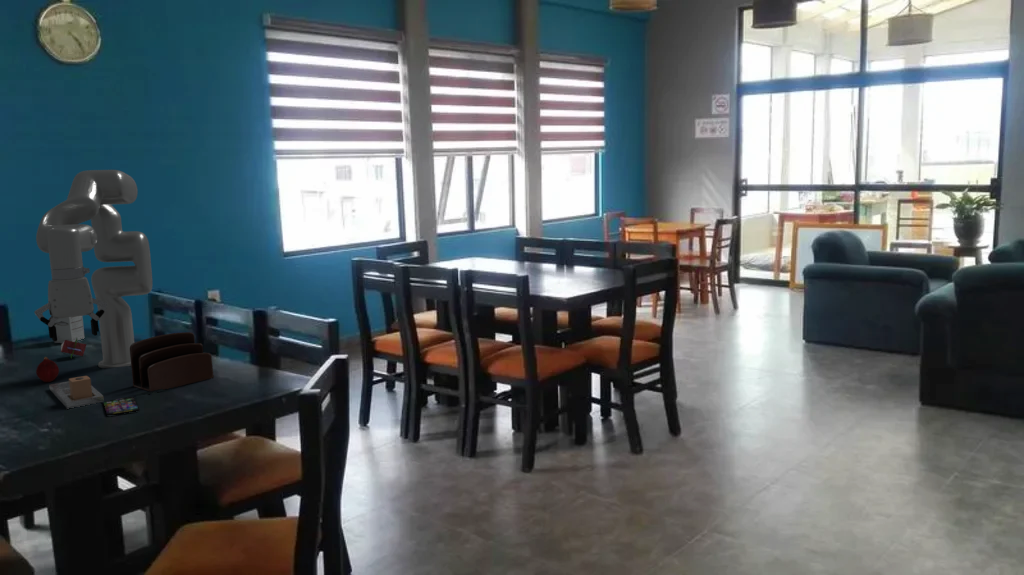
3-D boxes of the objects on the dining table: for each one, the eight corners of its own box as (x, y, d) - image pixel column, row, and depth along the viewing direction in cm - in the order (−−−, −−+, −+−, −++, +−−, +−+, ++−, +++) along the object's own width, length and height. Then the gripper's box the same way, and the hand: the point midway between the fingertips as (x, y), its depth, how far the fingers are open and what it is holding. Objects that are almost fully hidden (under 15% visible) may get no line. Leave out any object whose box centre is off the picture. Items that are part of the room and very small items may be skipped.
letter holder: (132, 388, 237) (127, 340, 235) (196, 373, 252) (192, 328, 250) (150, 394, 231) (145, 345, 228) (214, 378, 246) (210, 332, 244)
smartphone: (134, 396, 226) (140, 409, 214) (134, 399, 227) (140, 413, 214) (102, 400, 223) (106, 414, 210) (103, 404, 223) (106, 418, 210)
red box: (90, 347, 283) (73, 330, 279) (92, 350, 277) (74, 333, 273) (73, 361, 280) (55, 345, 277) (74, 365, 275) (56, 349, 271)
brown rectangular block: (89, 396, 226) (87, 375, 225) (92, 400, 223) (90, 378, 222) (71, 400, 224) (68, 378, 223) (74, 403, 220) (71, 381, 219)
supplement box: (53, 343, 300) (49, 309, 298) (67, 339, 307) (64, 305, 305) (72, 343, 299) (68, 309, 297) (85, 339, 306) (82, 305, 304)
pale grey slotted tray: (84, 385, 241) (83, 378, 241) (104, 403, 222) (103, 395, 222) (50, 391, 236) (49, 384, 235) (67, 409, 217) (66, 402, 217)
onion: (64, 381, 246) (61, 355, 245) (46, 386, 241) (43, 360, 240) (51, 379, 248) (48, 354, 247) (33, 384, 243) (30, 358, 242)
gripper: (100, 269, 226) (106, 330, 229) (28, 276, 215) (35, 340, 218) (106, 272, 220) (113, 334, 223) (33, 279, 210) (40, 345, 212)
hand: (75, 337), depth 221 cm, fingers open, 9 cm apart
